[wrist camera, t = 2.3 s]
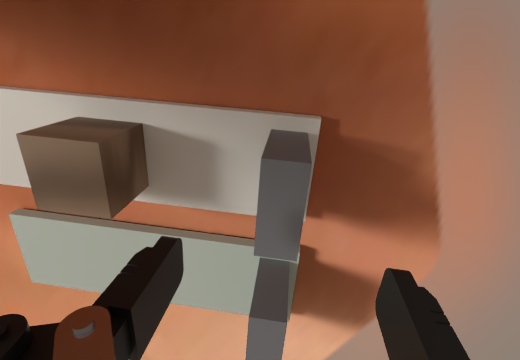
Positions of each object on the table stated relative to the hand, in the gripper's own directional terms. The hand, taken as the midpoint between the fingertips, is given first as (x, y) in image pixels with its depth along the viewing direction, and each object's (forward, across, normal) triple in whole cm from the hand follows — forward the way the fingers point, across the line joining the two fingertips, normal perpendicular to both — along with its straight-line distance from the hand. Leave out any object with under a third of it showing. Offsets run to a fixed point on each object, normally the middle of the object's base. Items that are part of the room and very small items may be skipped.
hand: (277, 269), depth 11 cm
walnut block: (+10, +13, 0) cm, 17 cm away
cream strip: (+11, +11, 0) cm, 16 cm away
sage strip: (+11, +11, +11) cm, 19 cm away
